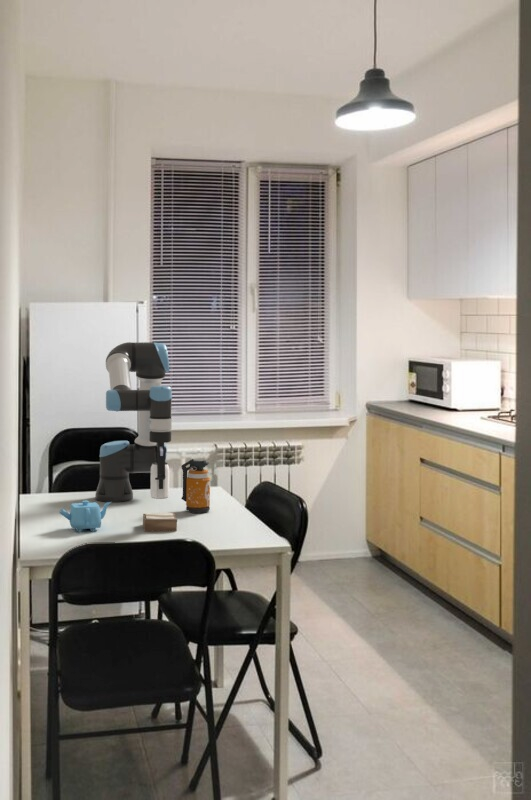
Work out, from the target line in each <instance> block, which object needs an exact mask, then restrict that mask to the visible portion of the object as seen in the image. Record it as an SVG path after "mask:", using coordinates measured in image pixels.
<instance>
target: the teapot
mask: <svg viewBox="0 0 531 800" xmlns="http://www.w3.org/2000/svg"><path fill="white" fill-rule="evenodd" d="M112 503H113V502H105V503H104V505H103V507H102V510H101V507H100V505H99V504H98V502H96V501H94V502H90V501H89V500H82V501H81V502H78V503H76V502H75V503H71V504H70V511H69V512H67V511H66V510H65V509H63V508H62V509H60V511H59V512H58V513H59V515H62V516H63V517H64V518H65V519H67V520H68V521H69V525H70V528H71V529H72V530H76V531H75V532H76V533H82V532H83V530H87V529H90V532H97V531H98V530H97V529H100V528H101V527H102V520H103V519H104V518H105V516H106V512H107V509H108V506H109V505H110V504H112Z"/></svg>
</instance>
